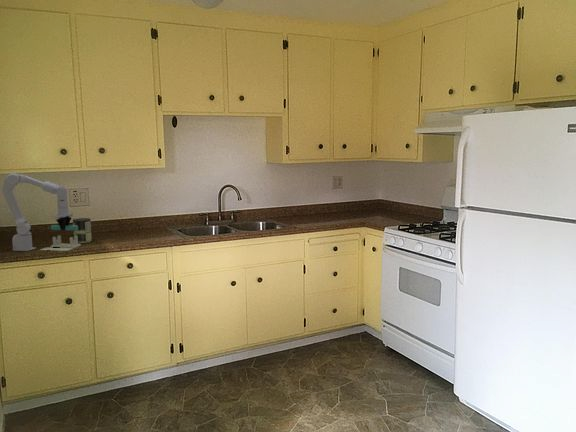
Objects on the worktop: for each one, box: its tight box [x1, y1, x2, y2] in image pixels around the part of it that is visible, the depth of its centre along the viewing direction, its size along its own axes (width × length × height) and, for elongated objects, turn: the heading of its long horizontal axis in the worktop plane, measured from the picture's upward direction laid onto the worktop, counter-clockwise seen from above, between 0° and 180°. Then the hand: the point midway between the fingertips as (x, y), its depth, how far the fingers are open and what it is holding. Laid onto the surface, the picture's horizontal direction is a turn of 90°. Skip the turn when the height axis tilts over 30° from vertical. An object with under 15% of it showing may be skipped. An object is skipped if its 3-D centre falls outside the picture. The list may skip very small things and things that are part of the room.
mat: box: [39, 247, 74, 252], centre depth 262 cm, size 17×6×1 cm, turn 81°
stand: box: [49, 235, 82, 249], centre depth 270 cm, size 15×7×6 cm, turn 81°
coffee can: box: [72, 217, 93, 244], centre depth 285 cm, size 10×10×14 cm
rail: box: [50, 224, 78, 231], centre depth 269 cm, size 16×2×2 cm, turn 81°
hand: (64, 229), depth 269 cm, fingers closed on rail, 2 cm apart
